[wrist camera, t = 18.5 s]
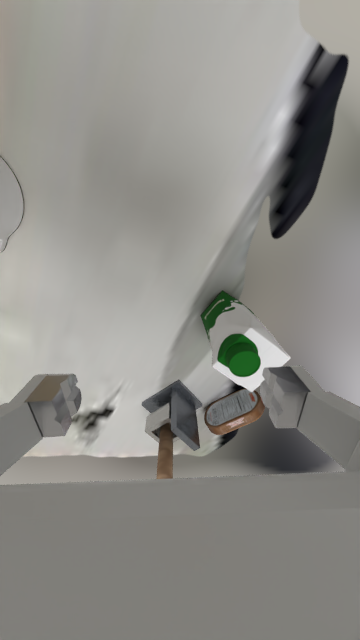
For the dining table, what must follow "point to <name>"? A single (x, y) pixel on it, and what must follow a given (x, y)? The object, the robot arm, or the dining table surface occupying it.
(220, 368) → the milk carton
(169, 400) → the bracket
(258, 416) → the tin
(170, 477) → the brown wooden rod
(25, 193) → the dining table surface
